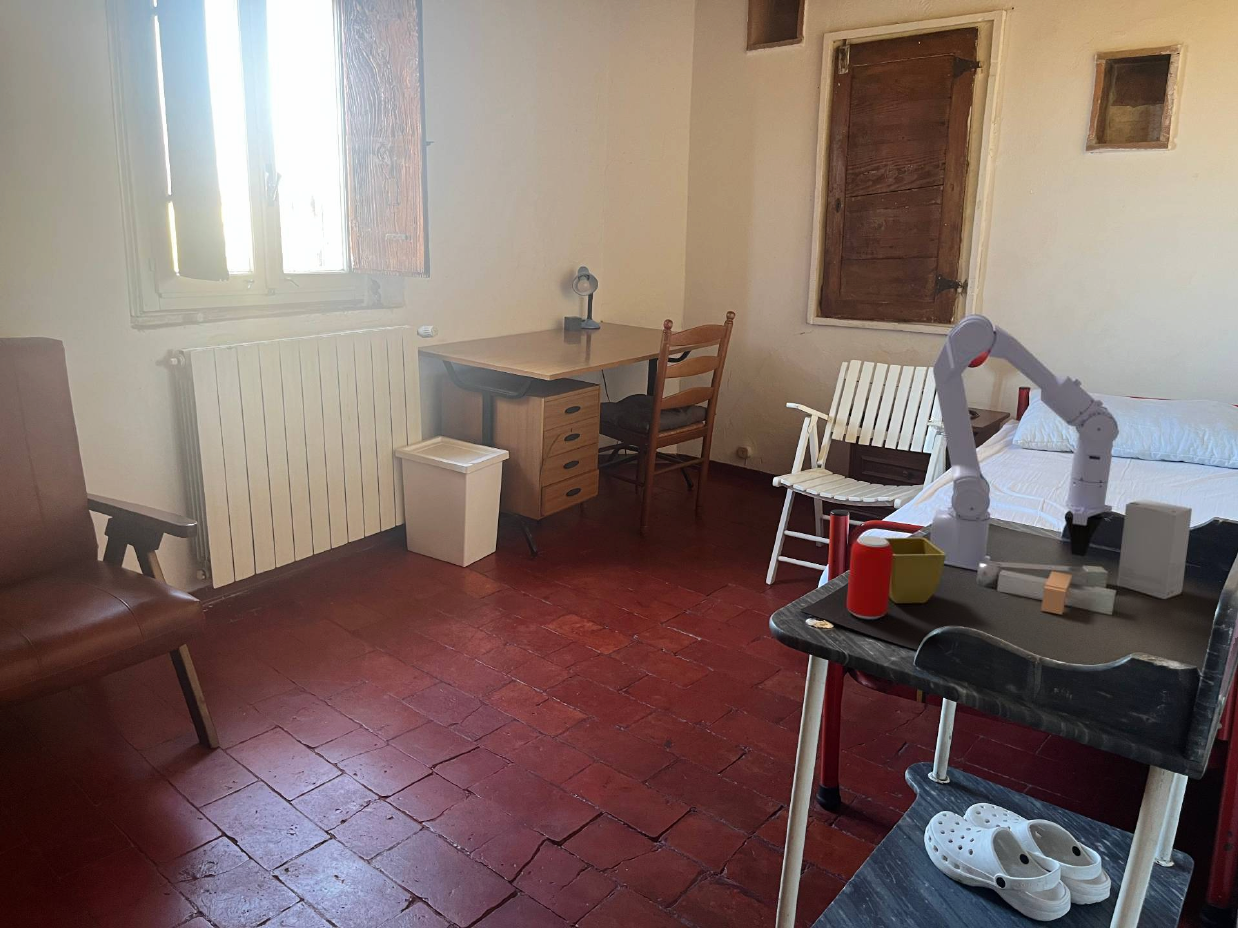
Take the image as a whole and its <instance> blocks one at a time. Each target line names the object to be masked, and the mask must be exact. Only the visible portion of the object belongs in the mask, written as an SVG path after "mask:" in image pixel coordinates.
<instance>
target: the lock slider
mask: <svg viewBox="0 0 1238 928" xmlns="http://www.w3.org/2000/svg"><path fill="white" fill-rule="evenodd" d="M1071 580H1072V575H1069V574H1063V573H1058V572H1053V571H1052V572H1051V574H1050V576H1049V578H1048V580H1047V582H1046V584H1045V587H1044V593H1043V600H1041V609H1040V611H1043V612H1047V613H1053V614H1057V615H1061V616H1063V612H1064V609H1065V606H1066V605H1065V598H1066V591H1067V589H1068V587H1069V584H1070V582H1071Z"/></svg>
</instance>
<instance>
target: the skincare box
mask: <svg viewBox="0 0 1238 928" xmlns="http://www.w3.org/2000/svg"><path fill="white" fill-rule="evenodd" d="M1192 510H1193V508H1192V507H1191V508H1190V507H1186V506H1181V505H1175V504H1169V503H1165V502H1160V501H1156V500H1152V499H1146V498H1140V499H1137V500H1135V501H1132V502H1129V503H1126V504H1125V510H1124V511H1125V513H1124V521H1123V529H1122V538H1121V539H1122V540H1121V547H1120V548H1121V549H1120V556H1119V565H1118V573H1117V583H1116V585H1117V586H1119V587H1122V588H1126V589H1128V590H1132V591H1136V592H1139V593H1141V594H1146V595H1150V596H1152V597H1155V598H1158V599H1162V600H1167V599H1169V598H1171V597H1175V596H1178V595H1180V594H1181V593H1182V590H1183V585H1184V584H1183V583H1184V578H1185V577H1184V576H1185V568H1186V561H1187V560H1186V559H1187V553H1188V544H1189V539H1190V538H1189V535H1190V529H1191V520H1192Z"/></svg>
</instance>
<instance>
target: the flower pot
mask: <svg viewBox="0 0 1238 928" xmlns="http://www.w3.org/2000/svg"><path fill="white" fill-rule="evenodd" d="M883 538H884V539H886V540H887V541H888V542H889V543H890V545H891V547H892V550H893V560H892V570H891V581H890V591H889V599H890V600H892V602H893V603H895V604H924V603H925V604H926V602H927V601H928V600H929V599H930V598H931V597H932V596H933V594H934V593H935V592H936V590H937V589H938V586H939V584H940V581H941V577H942V573H943V570H944V565H945V564H944V561H945V557H946V554H945V553H944V552H943V551H941V550H940V549H938V548H937V547H935V546H934V545H933V544H932V543H931V542H930V540H929V539H927V538H925V537H883Z"/></svg>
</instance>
